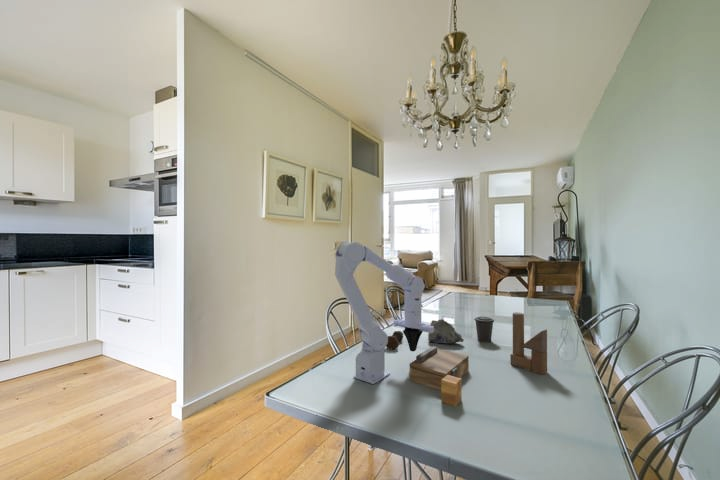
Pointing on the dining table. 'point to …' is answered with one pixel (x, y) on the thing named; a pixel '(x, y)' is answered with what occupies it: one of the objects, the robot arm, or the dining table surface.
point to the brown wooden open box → (435, 376)
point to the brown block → (451, 390)
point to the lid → (439, 361)
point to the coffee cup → (484, 328)
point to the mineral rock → (444, 333)
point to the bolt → (394, 340)
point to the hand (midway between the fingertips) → (413, 350)
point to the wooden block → (528, 347)
